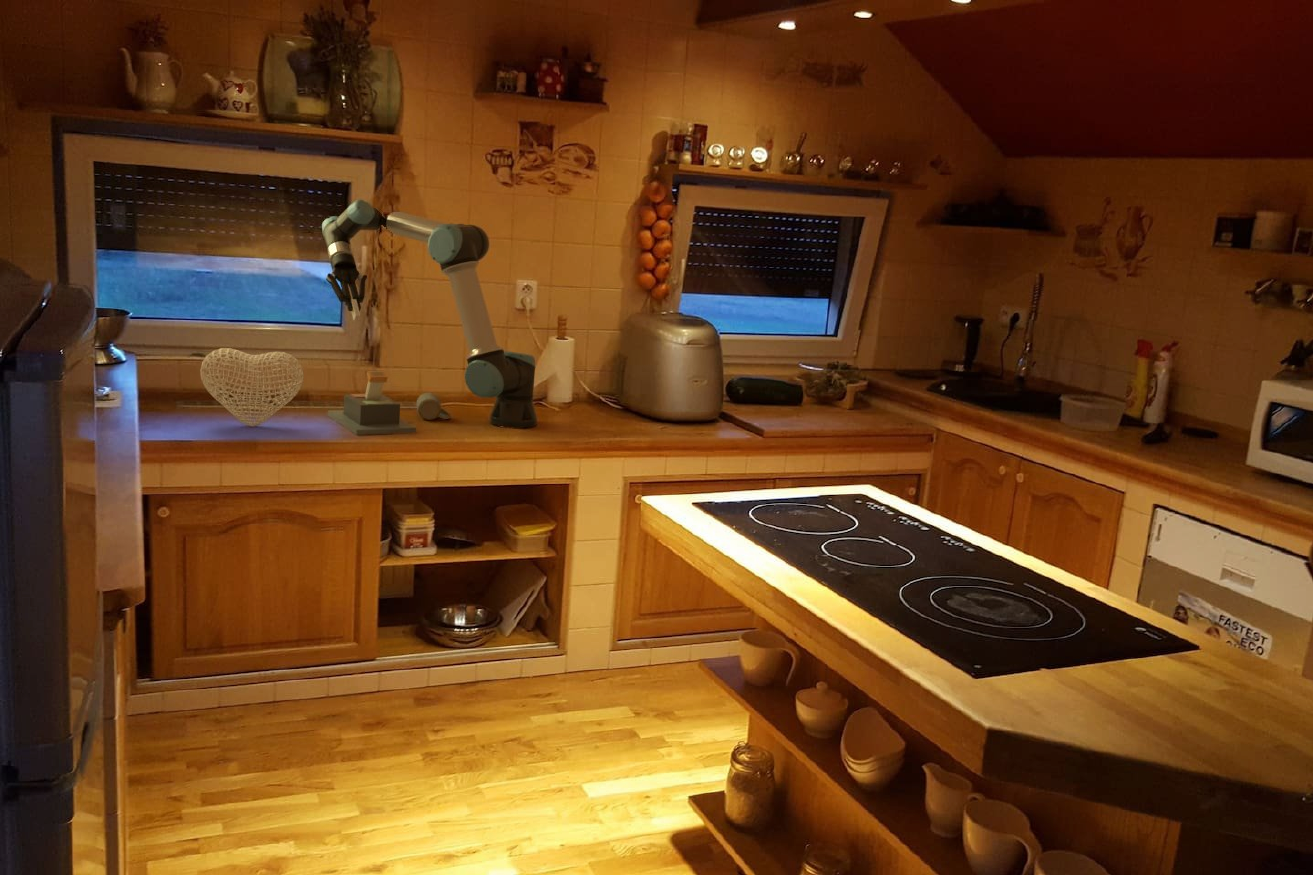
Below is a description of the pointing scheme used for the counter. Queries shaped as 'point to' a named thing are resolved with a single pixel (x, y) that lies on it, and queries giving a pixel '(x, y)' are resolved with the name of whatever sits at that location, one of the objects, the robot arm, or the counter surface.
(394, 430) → the breaker box
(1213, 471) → the counter surface
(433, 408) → the ceramic mug
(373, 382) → the breaker lever
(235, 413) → the heart
